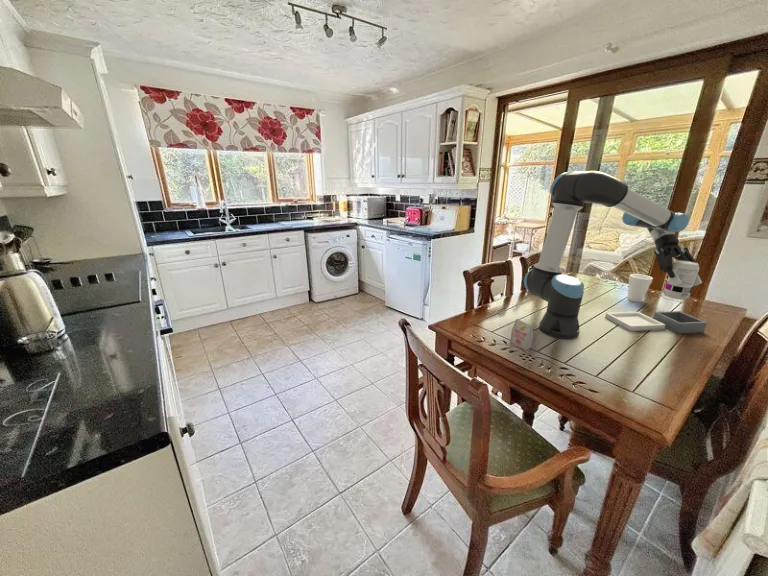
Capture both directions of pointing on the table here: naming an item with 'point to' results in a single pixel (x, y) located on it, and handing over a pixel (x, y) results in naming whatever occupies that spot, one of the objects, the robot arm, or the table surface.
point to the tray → (635, 321)
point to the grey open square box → (680, 322)
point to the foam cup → (638, 287)
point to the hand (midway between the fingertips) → (688, 284)
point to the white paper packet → (522, 335)
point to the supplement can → (682, 280)
